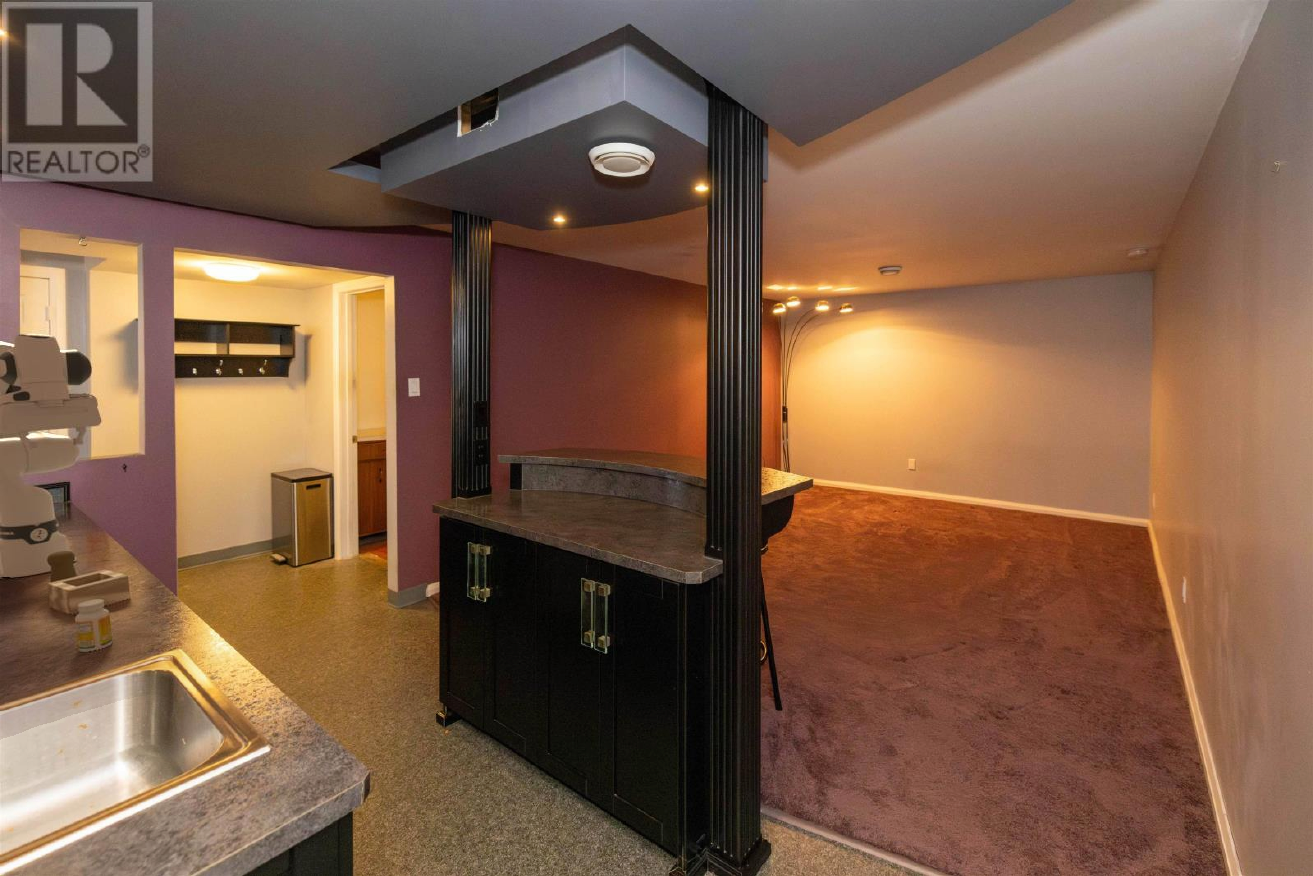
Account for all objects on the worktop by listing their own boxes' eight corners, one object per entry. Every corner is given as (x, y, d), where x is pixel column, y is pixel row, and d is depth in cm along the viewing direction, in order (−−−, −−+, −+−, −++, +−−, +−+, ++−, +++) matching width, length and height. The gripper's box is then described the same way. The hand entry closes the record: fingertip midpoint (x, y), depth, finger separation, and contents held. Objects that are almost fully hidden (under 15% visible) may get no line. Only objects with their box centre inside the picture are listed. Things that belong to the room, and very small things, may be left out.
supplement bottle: (80, 655, 126) (74, 609, 125) (76, 647, 129) (70, 603, 128) (115, 645, 130) (110, 601, 129) (110, 638, 134) (105, 595, 132)
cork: (61, 598, 158) (56, 556, 157) (43, 596, 159) (37, 555, 158) (87, 589, 164) (82, 549, 163) (69, 588, 165) (64, 548, 164)
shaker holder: (50, 607, 152) (47, 583, 151) (108, 591, 162) (105, 569, 161) (72, 615, 147) (69, 590, 146) (130, 598, 157) (127, 575, 156)
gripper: (90, 393, 174) (99, 442, 175) (-13, 398, 156) (-2, 452, 157) (101, 391, 171) (109, 441, 172) (-3, 395, 153) (8, 451, 154)
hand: (55, 446), depth 164 cm, fingers open, 8 cm apart
